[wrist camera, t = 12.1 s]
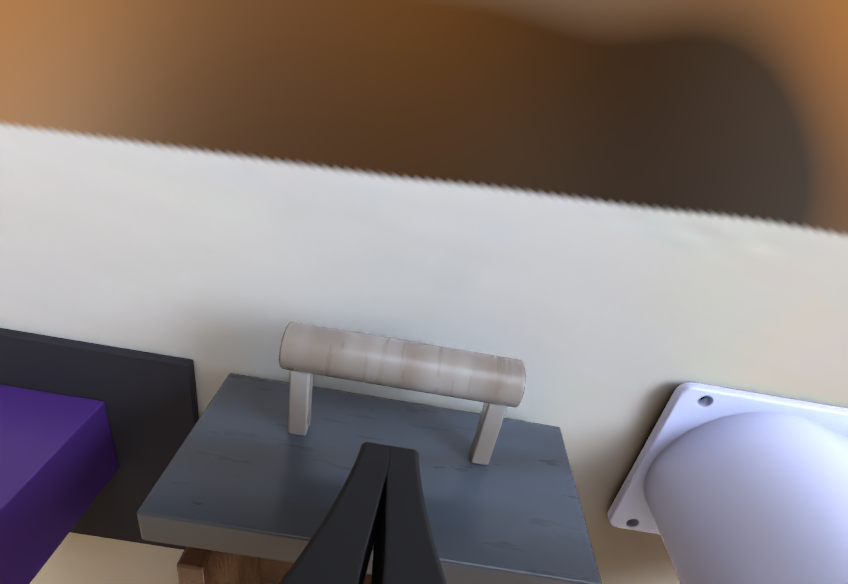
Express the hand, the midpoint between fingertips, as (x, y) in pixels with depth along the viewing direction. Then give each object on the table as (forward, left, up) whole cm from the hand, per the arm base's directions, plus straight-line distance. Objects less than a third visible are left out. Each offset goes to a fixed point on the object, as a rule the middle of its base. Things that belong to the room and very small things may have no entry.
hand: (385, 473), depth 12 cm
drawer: (0, +7, -5) cm, 9 cm away
